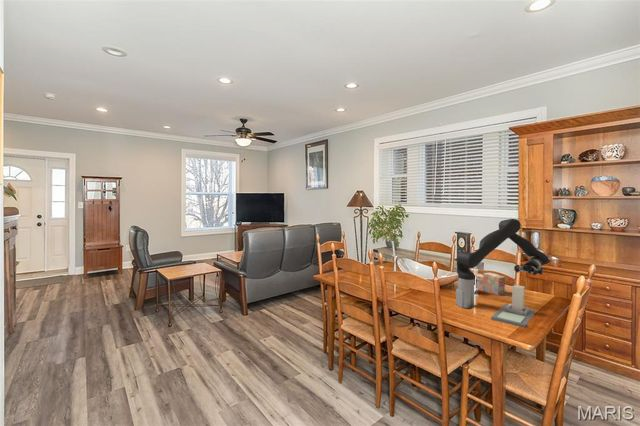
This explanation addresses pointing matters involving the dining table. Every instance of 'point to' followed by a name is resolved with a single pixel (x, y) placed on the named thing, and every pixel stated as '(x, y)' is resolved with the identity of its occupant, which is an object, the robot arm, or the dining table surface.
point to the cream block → (518, 297)
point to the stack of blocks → (491, 283)
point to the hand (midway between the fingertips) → (525, 272)
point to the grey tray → (513, 315)
